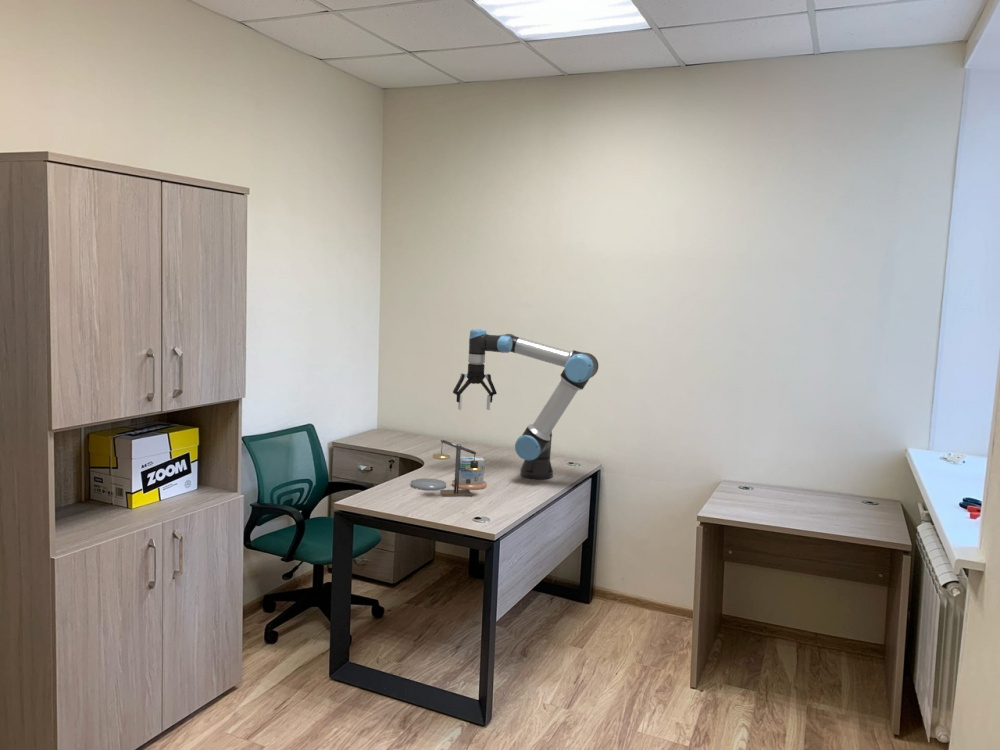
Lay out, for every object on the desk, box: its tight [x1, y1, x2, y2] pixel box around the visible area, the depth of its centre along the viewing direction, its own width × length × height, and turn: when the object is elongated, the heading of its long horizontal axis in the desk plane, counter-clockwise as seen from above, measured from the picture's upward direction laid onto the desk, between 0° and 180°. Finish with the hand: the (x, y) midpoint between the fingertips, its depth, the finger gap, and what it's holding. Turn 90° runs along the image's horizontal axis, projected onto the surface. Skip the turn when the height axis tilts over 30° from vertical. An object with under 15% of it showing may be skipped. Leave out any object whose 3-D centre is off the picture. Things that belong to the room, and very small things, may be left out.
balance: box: [432, 439, 482, 498], centre depth 316 cm, size 21×7×23 cm, turn 106°
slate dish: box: [410, 477, 447, 491], centre depth 328 cm, size 15×15×1 cm
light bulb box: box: [459, 456, 486, 484], centre depth 333 cm, size 11×7×11 cm, turn 106°
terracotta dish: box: [451, 479, 488, 491], centre depth 333 cm, size 15×15×1 cm
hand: (473, 409), depth 351 cm, fingers open, 13 cm apart
